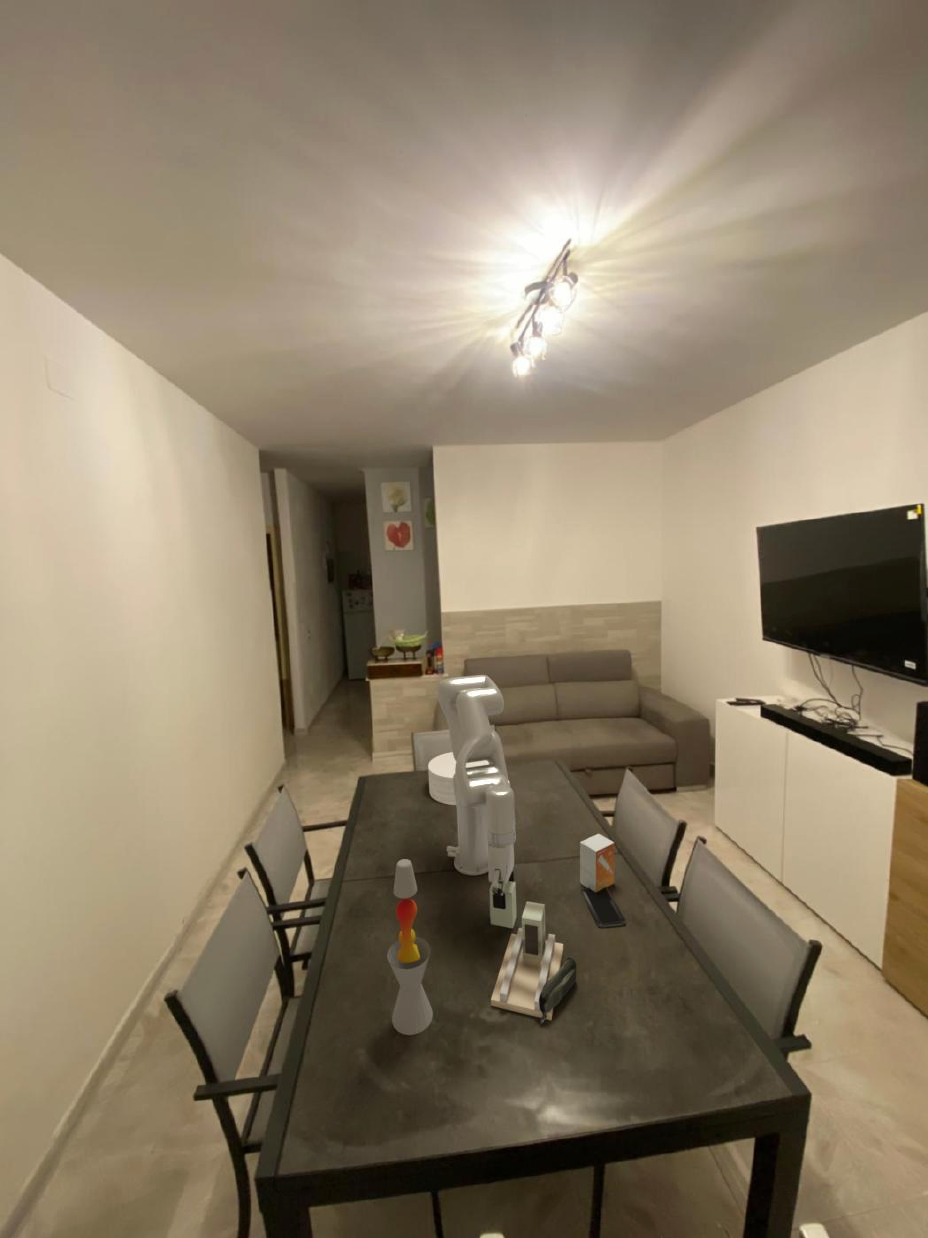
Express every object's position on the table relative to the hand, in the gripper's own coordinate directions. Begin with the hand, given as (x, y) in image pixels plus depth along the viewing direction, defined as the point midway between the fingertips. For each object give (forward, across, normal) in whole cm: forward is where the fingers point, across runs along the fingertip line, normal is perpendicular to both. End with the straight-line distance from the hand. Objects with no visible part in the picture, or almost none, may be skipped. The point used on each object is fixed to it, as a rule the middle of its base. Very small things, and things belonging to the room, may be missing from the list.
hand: (504, 896), depth 133 cm
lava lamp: (+8, +32, -13) cm, 35 cm away
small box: (+7, -23, +22) cm, 33 cm away
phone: (+8, -13, +24) cm, 29 cm away
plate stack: (+5, -72, -36) cm, 81 cm away
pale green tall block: (+7, -1, -1) cm, 8 cm away
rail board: (+8, +15, +9) cm, 19 cm away
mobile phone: (+8, +20, +16) cm, 27 cm away
